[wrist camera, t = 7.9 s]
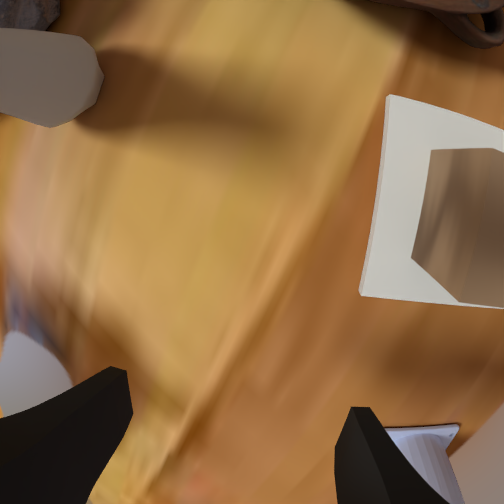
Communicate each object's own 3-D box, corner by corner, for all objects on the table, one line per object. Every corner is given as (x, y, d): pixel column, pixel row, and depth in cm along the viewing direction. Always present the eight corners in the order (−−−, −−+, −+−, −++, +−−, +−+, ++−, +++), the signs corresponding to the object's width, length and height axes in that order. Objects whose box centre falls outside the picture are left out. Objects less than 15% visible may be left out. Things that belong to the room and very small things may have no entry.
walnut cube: (489, 272, 16) (546, 312, 10) (410, 257, 16) (458, 302, 10) (510, 176, 14) (576, 188, 8) (430, 149, 14) (492, 148, 9)
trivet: (499, 304, 17) (505, 309, 16) (358, 290, 18) (361, 295, 17) (530, 145, 14) (537, 145, 13) (386, 97, 15) (390, 94, 14)
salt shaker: (96, 29, 15) (-54, -35, 3) (130, 87, 16) (-55, 33, 4) (38, 87, 17) (-114, 73, 4) (66, 146, 18) (-110, 162, 5)
